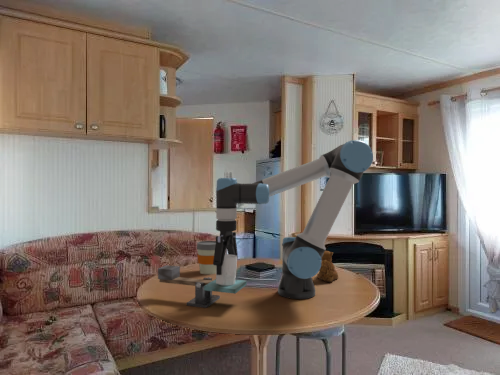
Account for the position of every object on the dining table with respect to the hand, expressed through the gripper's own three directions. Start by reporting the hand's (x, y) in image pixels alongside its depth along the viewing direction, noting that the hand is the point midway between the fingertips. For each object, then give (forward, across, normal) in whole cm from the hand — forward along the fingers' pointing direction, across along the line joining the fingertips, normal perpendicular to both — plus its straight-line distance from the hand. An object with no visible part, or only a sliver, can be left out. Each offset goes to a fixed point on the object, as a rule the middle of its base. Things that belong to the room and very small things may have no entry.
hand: (226, 279), depth 132 cm
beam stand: (+9, 0, -9) cm, 13 cm away
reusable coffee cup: (+9, -43, -27) cm, 52 cm away
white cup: (+2, 0, 0) cm, 2 cm away
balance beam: (+3, 0, -10) cm, 11 cm away
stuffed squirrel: (+9, -49, +31) cm, 59 cm away
